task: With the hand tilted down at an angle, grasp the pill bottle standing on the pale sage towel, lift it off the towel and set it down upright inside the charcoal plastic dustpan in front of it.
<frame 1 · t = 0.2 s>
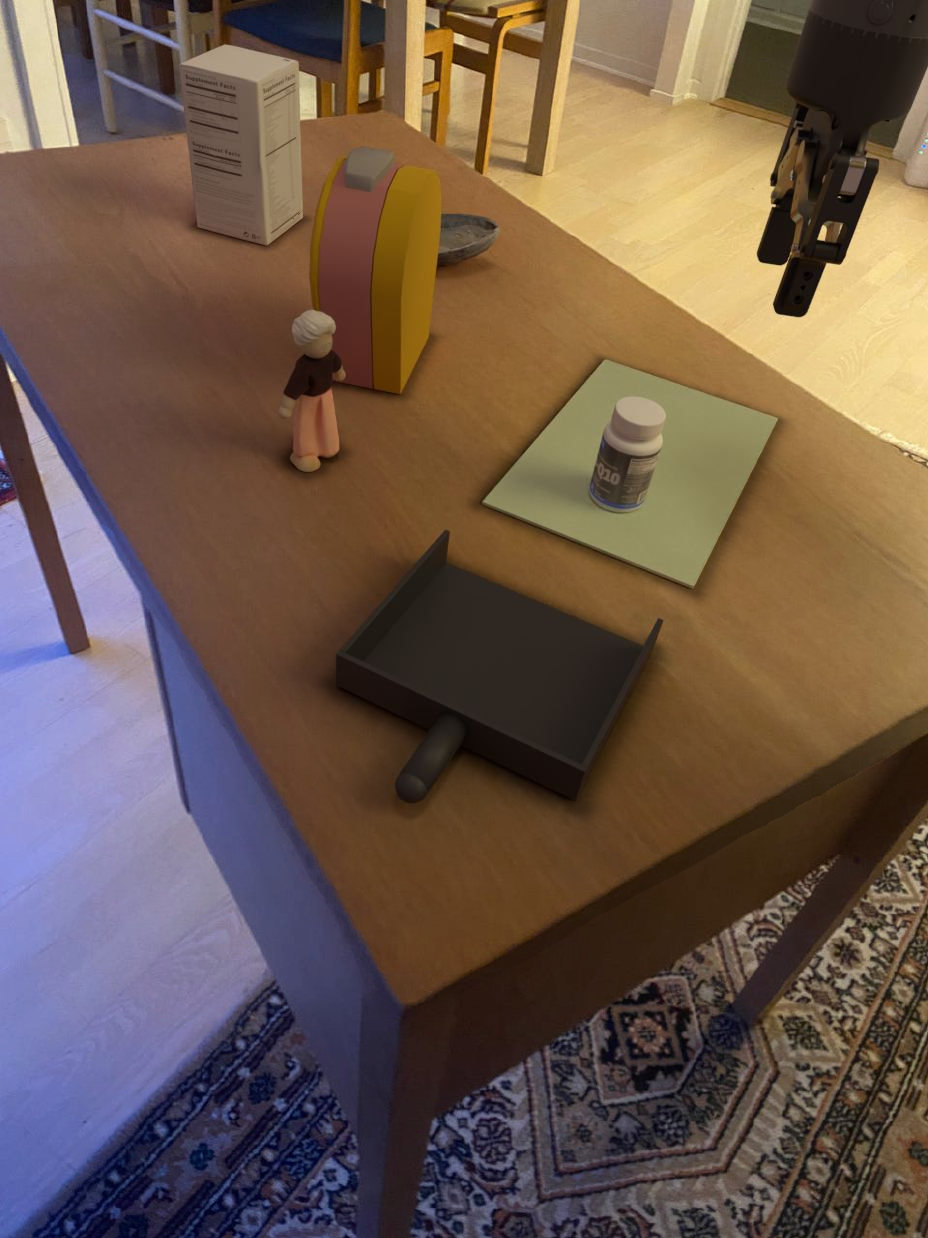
hand: (778, 286, 63), 19 cm above the table, tool pointing down, fingers open, 8 cm apart
pill bottle: (615, 498, 75), resting on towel
dustpan: (501, 667, 60), on the table
grey shallow oval dish: (420, 259, 104), on the table
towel: (642, 458, 80), on the table
grandmother figurine: (317, 455, 75), on the table
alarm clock: (374, 357, 87), on the table
supplement box: (251, 224, 106), on the table
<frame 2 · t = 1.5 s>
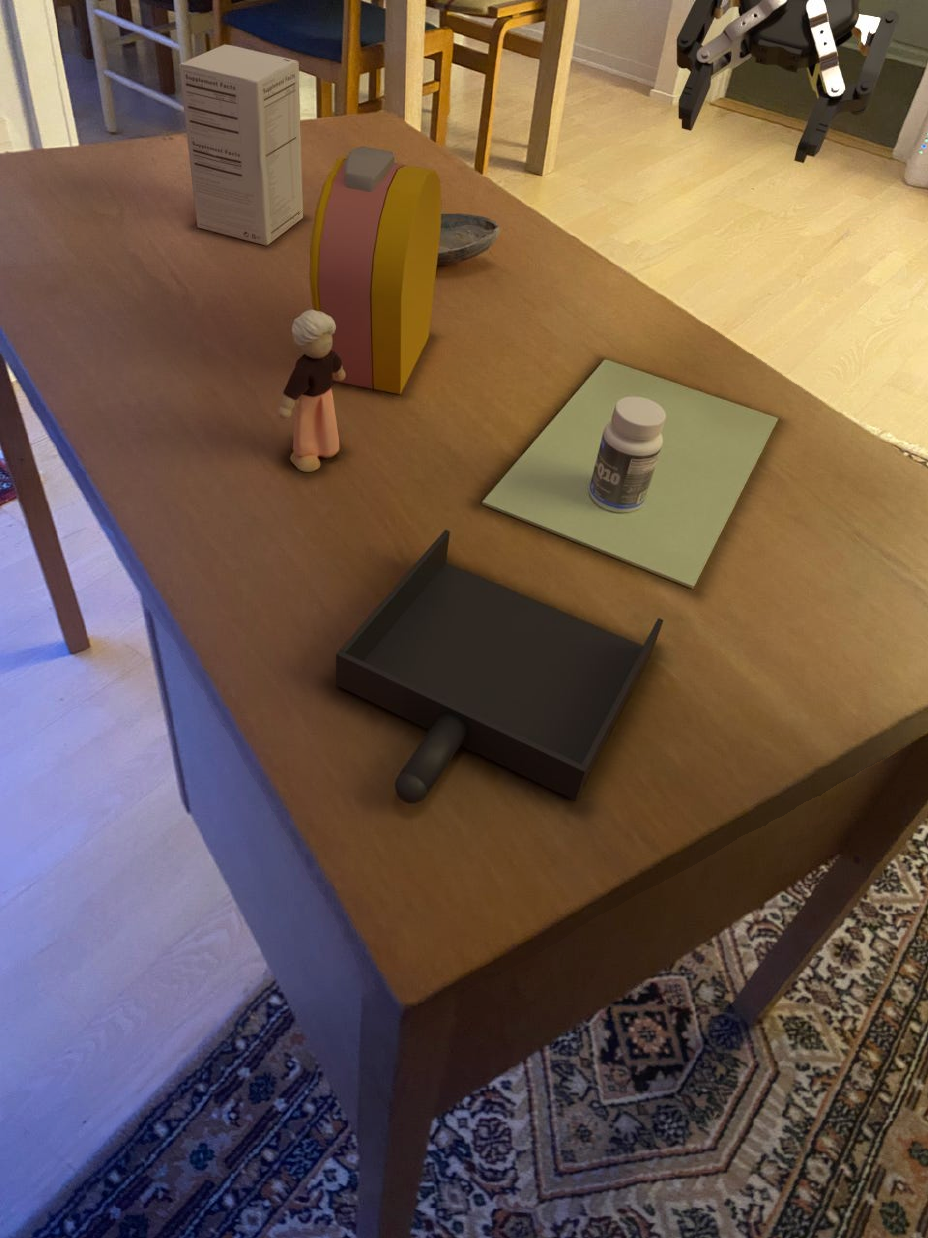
hand: (742, 139, 64), 25 cm above the table, tool tilted 45°, fingers open, 8 cm apart
nothing on the table moved.
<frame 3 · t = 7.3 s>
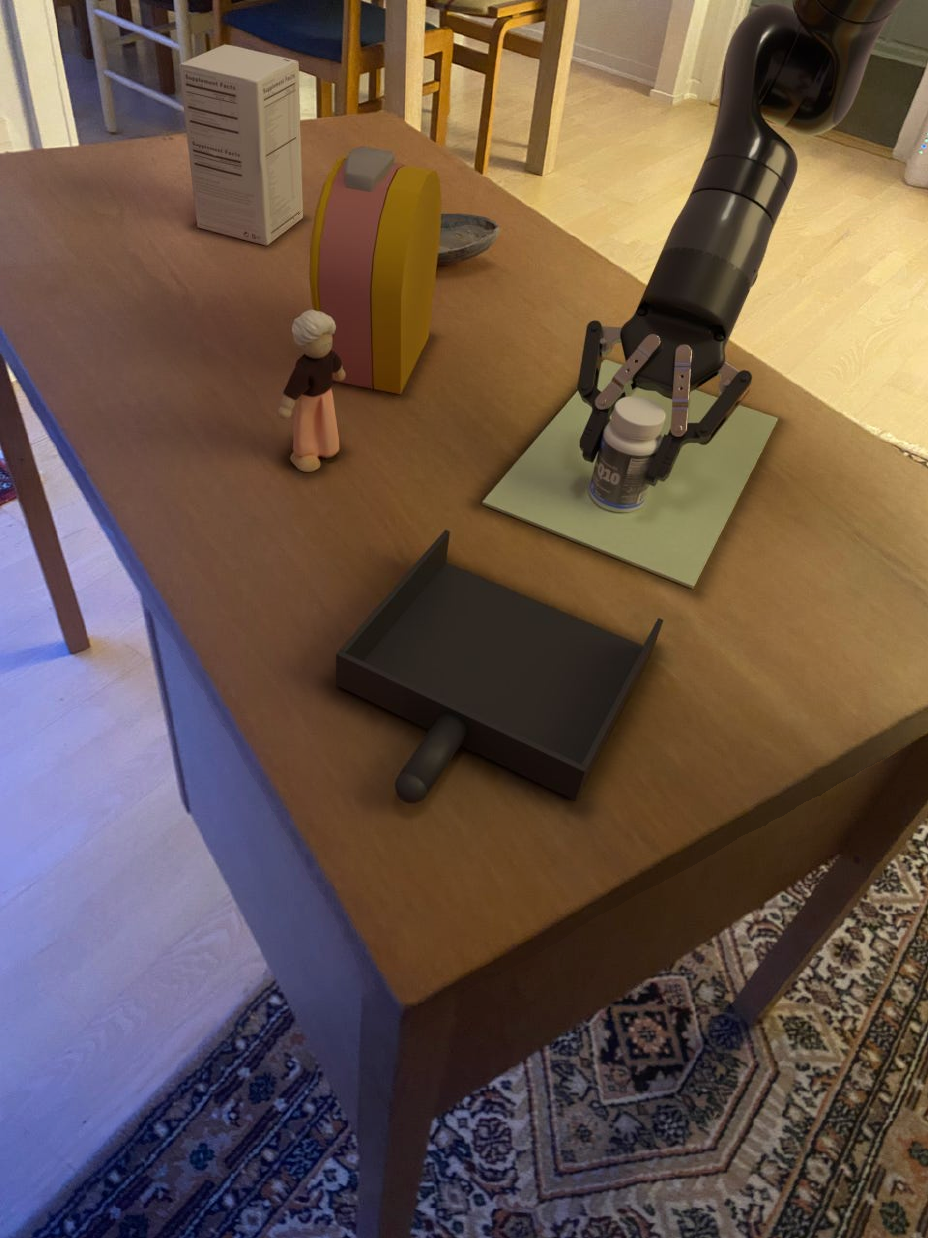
hand: (619, 470, 71), 4 cm above the table, tool tilted 45°, fingers closed on pill bottle, 4 cm apart
pill bottle: (615, 498, 75), resting on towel, touching gripper
everything else where it was.
when the fingers open (4 cm above the table, at t = 16.0 s): pill bottle stays where it is, resting on dustpan.
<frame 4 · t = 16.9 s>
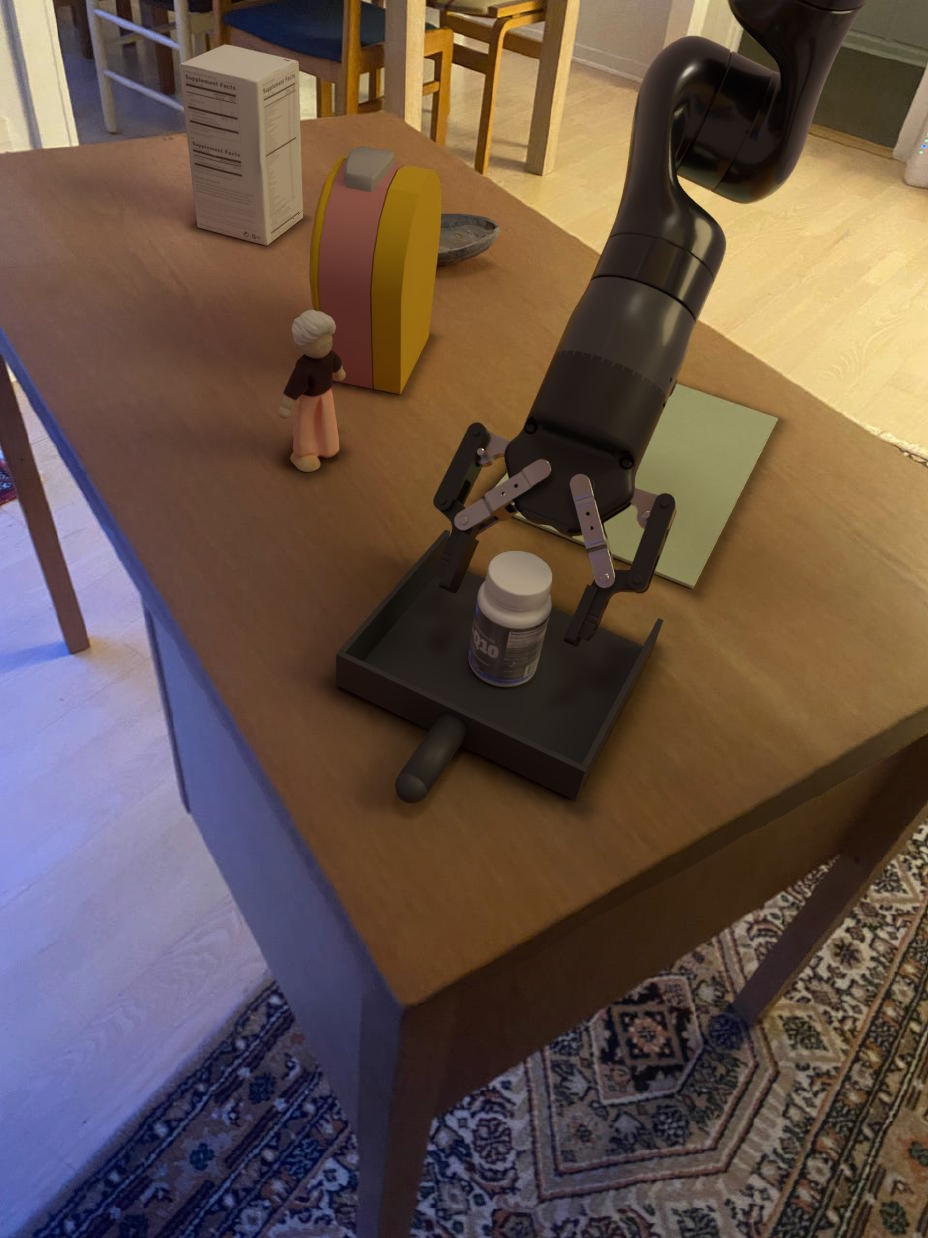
hand: (508, 617, 56), 6 cm above the table, tool tilted 45°, fingers open, 8 cm apart
pill bottle: (501, 664, 61), resting on dustpan
everything else where it was.
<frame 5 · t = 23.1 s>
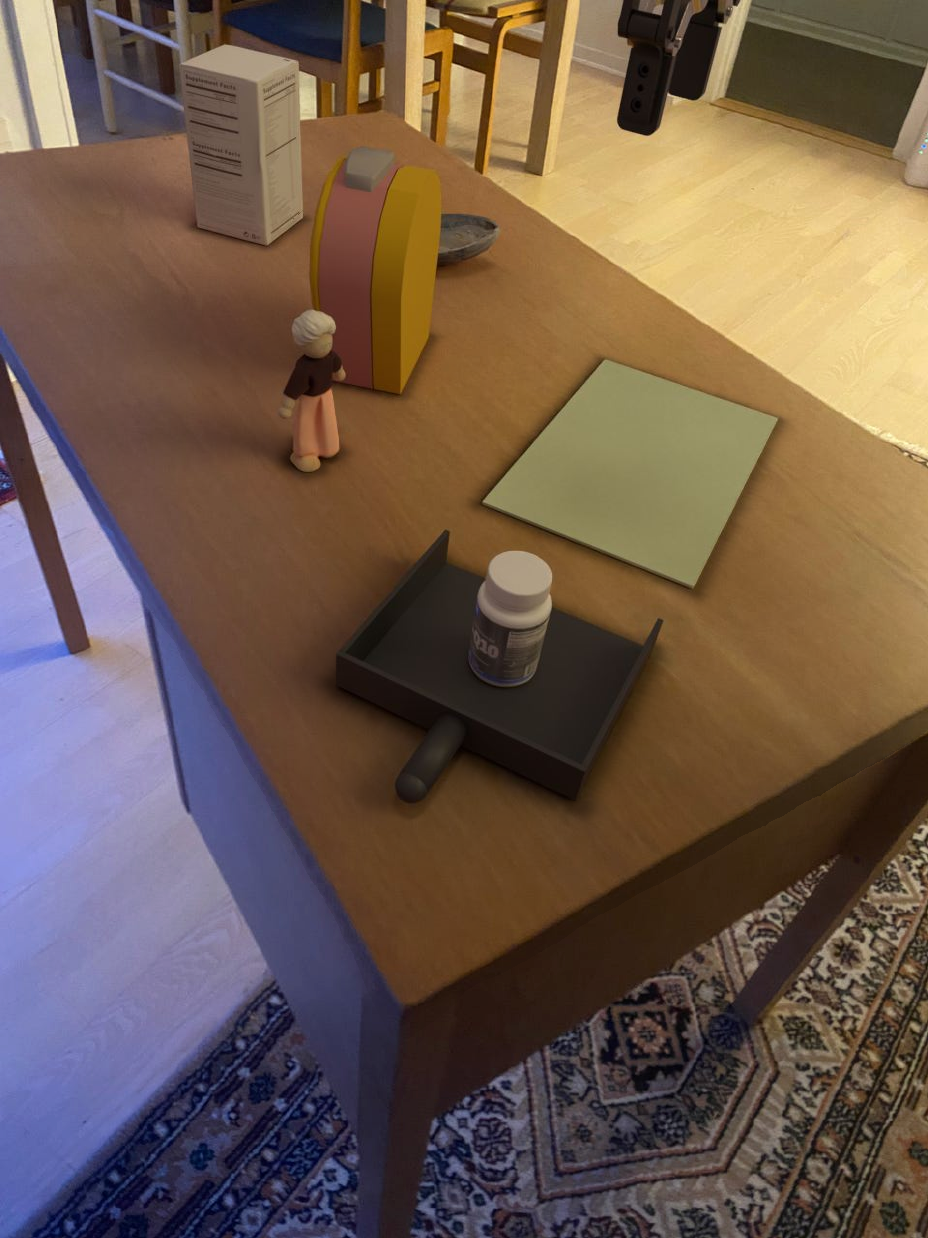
hand: (661, 112, 51), 30 cm above the table, tool pointing down, fingers open, 8 cm apart
nothing on the table moved.
at the end: pill bottle inside the target area in the dustpan (0.1 cm from its centre), point 0.1 cm above the dustpan's base; pill bottle touching dustpan; pill bottle tilted 0° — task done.
